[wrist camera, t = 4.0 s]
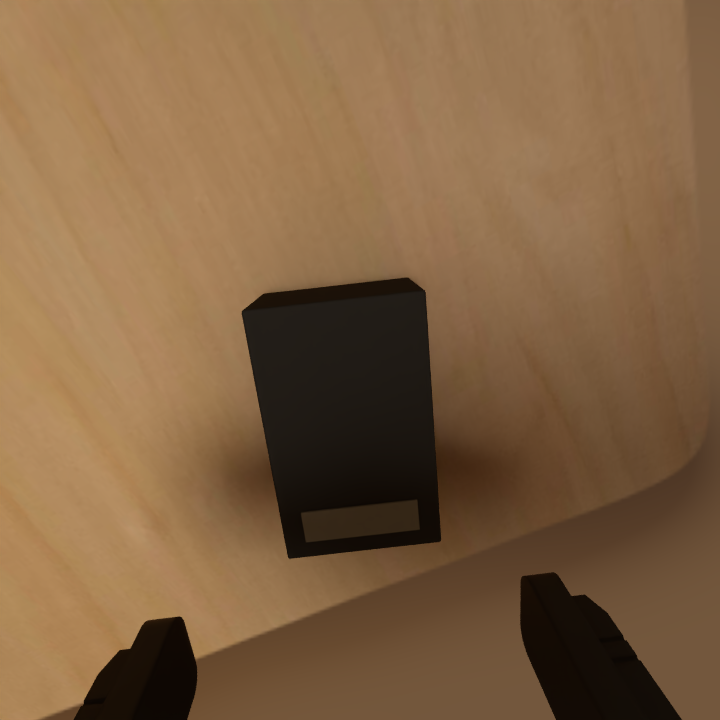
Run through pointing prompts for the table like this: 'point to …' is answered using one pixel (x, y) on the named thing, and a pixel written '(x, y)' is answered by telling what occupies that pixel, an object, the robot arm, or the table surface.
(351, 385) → the black box
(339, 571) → the table surface
